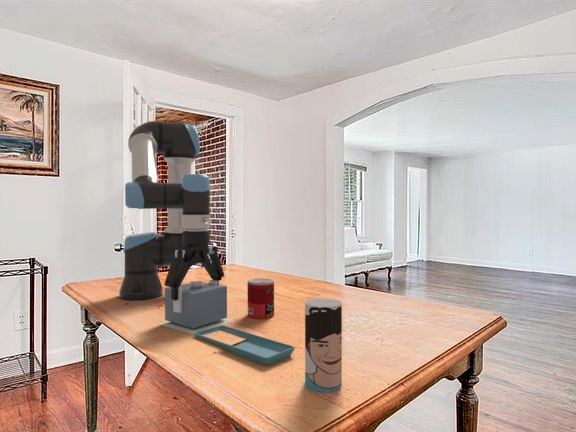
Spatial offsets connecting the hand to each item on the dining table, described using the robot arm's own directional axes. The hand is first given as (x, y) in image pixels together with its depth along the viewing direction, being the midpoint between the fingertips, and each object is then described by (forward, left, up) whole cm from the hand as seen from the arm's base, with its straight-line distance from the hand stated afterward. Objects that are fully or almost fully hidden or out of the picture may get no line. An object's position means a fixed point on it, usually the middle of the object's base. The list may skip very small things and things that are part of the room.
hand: (196, 307), depth 109 cm
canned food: (+10, +16, -5) cm, 20 cm away
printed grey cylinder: (+48, -11, -5) cm, 50 cm away
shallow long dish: (+23, -6, -5) cm, 24 cm away
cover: (0, 0, -3) cm, 3 cm away
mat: (0, 0, -5) cm, 5 cm away
